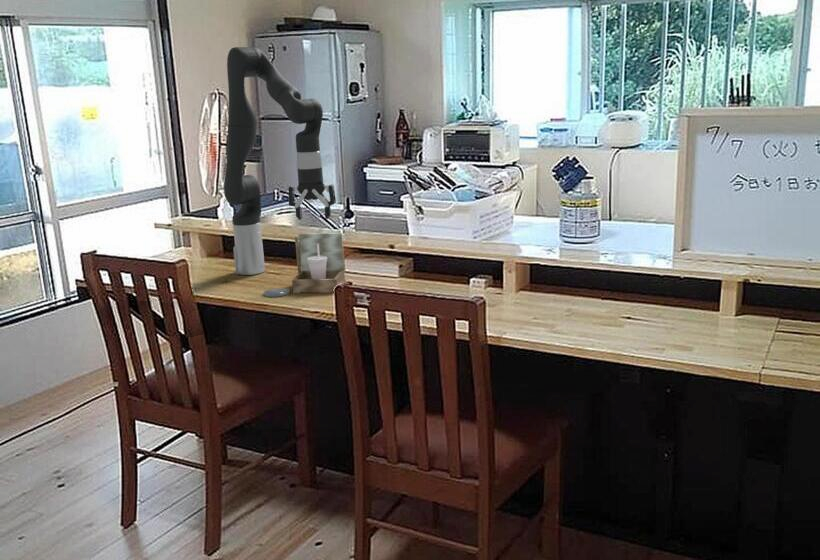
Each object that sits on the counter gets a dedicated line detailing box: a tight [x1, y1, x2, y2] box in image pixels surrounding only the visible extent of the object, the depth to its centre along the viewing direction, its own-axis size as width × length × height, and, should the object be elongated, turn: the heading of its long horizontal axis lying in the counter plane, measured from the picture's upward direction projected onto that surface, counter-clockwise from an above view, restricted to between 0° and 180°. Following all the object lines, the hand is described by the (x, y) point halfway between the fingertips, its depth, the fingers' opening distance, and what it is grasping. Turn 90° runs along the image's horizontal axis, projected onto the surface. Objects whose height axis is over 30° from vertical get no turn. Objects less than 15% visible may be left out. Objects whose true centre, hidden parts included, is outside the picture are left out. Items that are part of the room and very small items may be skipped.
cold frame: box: [291, 232, 346, 294], centre depth 254 cm, size 15×13×16 cm
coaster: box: [263, 287, 291, 298], centre depth 251 cm, size 8×8×1 cm
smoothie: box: [307, 244, 328, 279], centre depth 254 cm, size 6×6×14 cm
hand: (313, 218), depth 250 cm, fingers open, 8 cm apart
